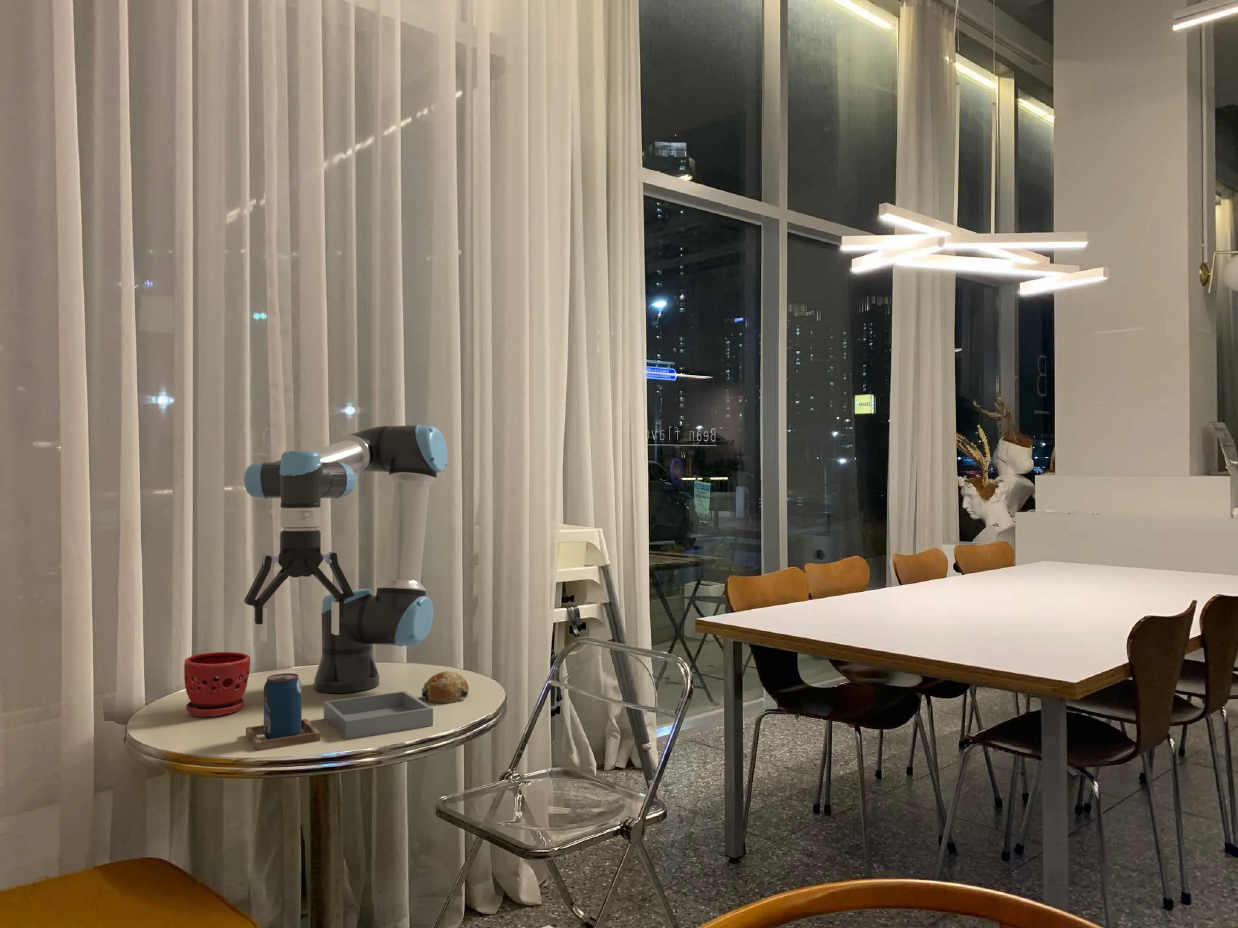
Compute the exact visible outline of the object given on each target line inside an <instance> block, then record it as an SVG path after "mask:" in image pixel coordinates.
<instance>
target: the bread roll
mask: <svg viewBox="0 0 1238 928" xmlns="http://www.w3.org/2000/svg"><path fill="white" fill-rule="evenodd" d="M468 695H469V685H468V682H467V680H466V679H465V677H464V676H463V675H462V674H461V675H460V674H459V673H458V672H457V671H440V672H438V673H436V674H434V675H432V676H431V677H429V678H428V680H427V681H425V683H424V686H422V688H421V696H422V697H423V698H424V700H425V701H426V702H429V703H433V702H435V703H434V704H450V703H449V702H453V703H457V701H458V702H462V701H464V700H465V699H466V698H467V697H468Z"/></svg>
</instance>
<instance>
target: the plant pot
mask: <svg viewBox="0 0 1238 928" xmlns="http://www.w3.org/2000/svg"><path fill="white" fill-rule="evenodd" d="M183 665H184V666H183V667H184V668H183V672H184V673H183V675H184V677H183V681H184V686H185V692H186V694H187V697H188V699H189V701H190V702H188V703H186V705H185V709H186V711H187V712H188V713H189V714H191V715H193V716H195V717H196V716H197V717H202V718H204V717H205V718H208V717H209V718H210V717H220V716H222V717H223V716H226V714H227V715H231V714H233V712H234V713H236V712H238V711H239V710H241V709H242V708H243V707H244V705H245V699H244V698H243V696H244V694H245V692H246V690H247V688H248V687H247V686H248V679H249V676H250V670H251V657H250V655H249V654H246V653H241V652H236V651H235V652H233V651H219V652H205V653H199V654H194V655H192V656H189V657H187V658H185V660H184V664H183ZM230 713H231V714H230Z"/></svg>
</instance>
